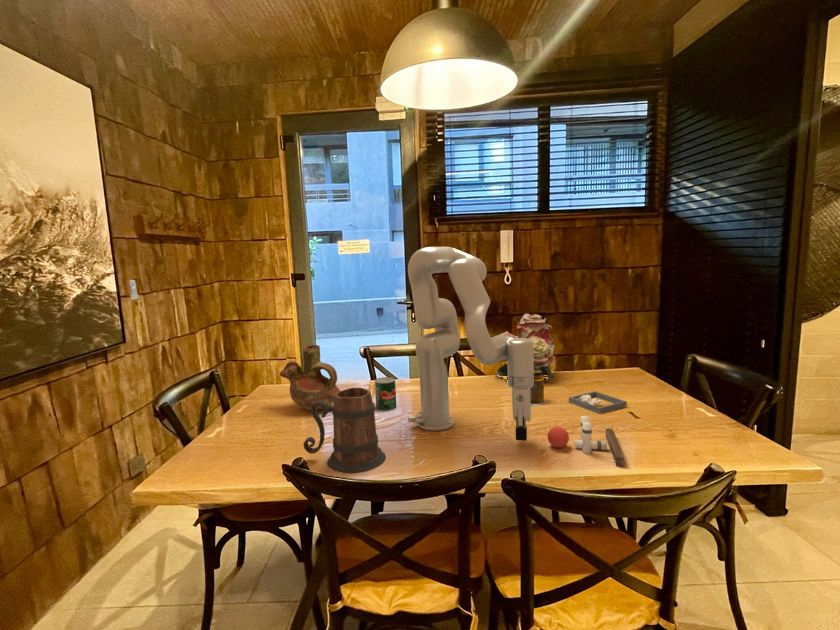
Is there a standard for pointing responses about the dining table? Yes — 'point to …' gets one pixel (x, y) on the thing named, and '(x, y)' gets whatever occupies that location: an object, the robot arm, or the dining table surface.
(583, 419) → the back left pin
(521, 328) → the rose bouquet
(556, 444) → the ball
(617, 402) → the grey square tray
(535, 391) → the condiment
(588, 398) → the anatomical pelvis
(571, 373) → the dining table surface
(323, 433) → the tankard
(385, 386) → the canned tomato
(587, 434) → the back right pin
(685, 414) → the dining table surface
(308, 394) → the ceramic vessel
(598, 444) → the front pin
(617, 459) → the wall
